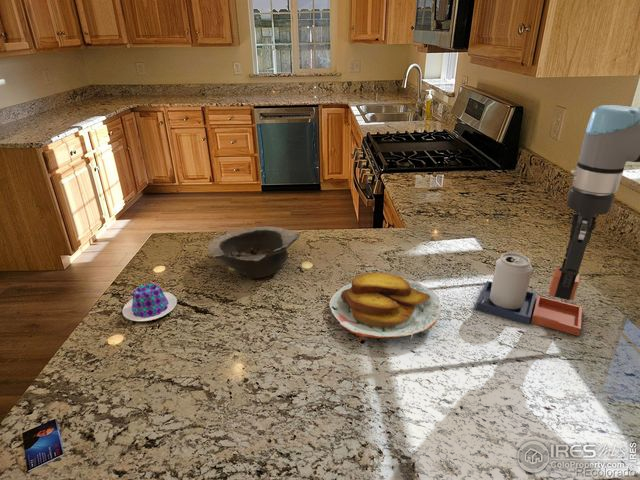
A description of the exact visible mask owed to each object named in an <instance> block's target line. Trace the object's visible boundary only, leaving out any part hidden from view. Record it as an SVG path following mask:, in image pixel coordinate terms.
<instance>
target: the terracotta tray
mask: <svg viewBox="0 0 640 480" xmlns="http://www.w3.org/2000/svg"><path fill="white" fill-rule="evenodd" d="M534 304H535V305H534V307H533V308H534V309H533V311H532V312H533V313H532V317H531V321H530V322H531V324H534V325H538V326H542V327H545V328H549V329H553V330H557V331H560V332H563V333H567V334H570V335H574V336H577V337H579V336H580V333H581V330H582V318H583V306H579V305H577V304H572V303H570V302H569V303H568V302H565V301H561V300H556V299H554V298H553V299H552V298H549V297H545V296H541V295H537V297H536V300H535V303H534Z"/></svg>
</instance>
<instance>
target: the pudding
mask: <svg viewBox="0 0 640 480" xmlns="http://www.w3.org/2000/svg"><path fill="white" fill-rule="evenodd" d="M177 304H178V299H177V297H176V295H174V294H172V293H170V292H167V291H163V289H162V287H161V286H159V285H158V284H157V283H145V284H142V285H139V286H137V287H136V289H135V290H133V292H132V298H131V299H130V300H128V301H127V302H126V303H125V304H124V306H123V308H122V315H123V316H124V318H126V320H130V321H133V322H148V321H152V320H157V319H160V318H162V317H164V316H166V315H168V314H169V313H171V312H172V311H173V310H174V309H175V307H176V306H177Z"/></svg>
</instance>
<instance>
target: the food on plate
mask: <svg viewBox="0 0 640 480" xmlns="http://www.w3.org/2000/svg"><path fill="white" fill-rule="evenodd" d="M328 307H329V308H330V310H331V313H332V314H333V316H334V317H335V318H336V320H337V321H338V322H339V323H338V324H339V325H340V326H341V327H342V328H344V329H346V330H347V331H350V334H355V335H356V336H358V339H357V340H358V341H360V342H361V341H363V337H366V338H375V339H384V338H386V339H389V338H395V339H396V338H399V337H407V336H410V340H412V339H413V337H414V334H417V333H420V332H424V331H425V332H426V330H427V329H433V327H434V326H435V325H436V324H437V322H438V320H439V318H440V317H441V313H442V312H443V310H442V303H441V301H440V298H439V296H437V294H436V293H434V292H433V290H431V289H429V288H428V287H427V286H425V285H424V284H423V285H422V283H419V282H417V281H414V280H411V279H409V278H404V277H402V276H399V275H396V274H391V273H388V272H375V271H374V272H366V273H361V274H359V275H356V276H354V278H352V280H351V282H350V283H347V284H345V285H344V286H341V287H340V288H339V289H338V290H337V291H336V292H335V293H334V294H333V295H331V298H330V299H329V301H328ZM331 323H332V324H334V322H333V321H331Z"/></svg>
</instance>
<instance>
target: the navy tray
mask: <svg viewBox="0 0 640 480" xmlns="http://www.w3.org/2000/svg"><path fill="white" fill-rule="evenodd" d="M492 282H493V281H490V280H486V282H485V284H484V287H483V289H482V291H481V294H480V295H479V298H478V300H477V302H476V307H475V310H476V311H479V312H483V313H487V314H490V315H494V316H497V317H501V318H505V319H508V320H510V321H514V322H517V323H522V324H525V325H529V324H530V322H531V321H530V320H531V318H532V317H531V316H532V314H533V313H532V312H533V308H534V304H535V301H536V300H535V299H536V295H537V293H536V292H533V291H530V290H527V293H526V297H525V302H524V305H523V306H522V307H521V308H519V309H516V310H506V309H503V308H499V307H497V306H496V305H495V304H494V303H493V302H492V301H491V300H490V292H491V287H492Z"/></svg>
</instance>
